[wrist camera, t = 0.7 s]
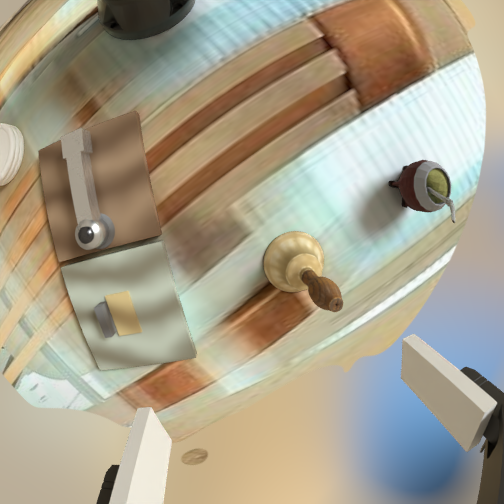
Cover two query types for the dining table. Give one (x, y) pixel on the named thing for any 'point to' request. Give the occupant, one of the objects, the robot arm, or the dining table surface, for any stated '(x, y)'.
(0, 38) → the dining table surface
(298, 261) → the hand bell
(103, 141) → the door board
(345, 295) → the dining table surface
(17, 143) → the coaster
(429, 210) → the mate gourd
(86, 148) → the swing bar
